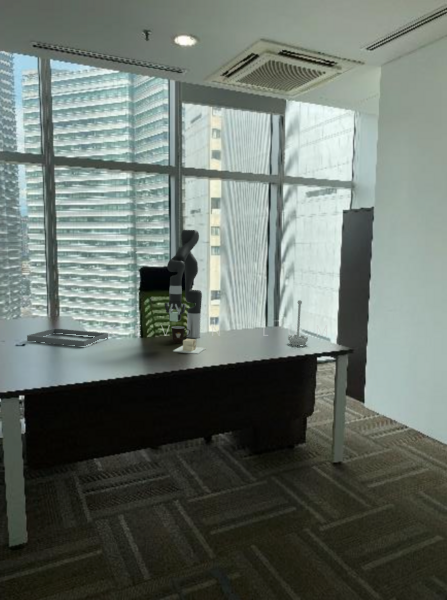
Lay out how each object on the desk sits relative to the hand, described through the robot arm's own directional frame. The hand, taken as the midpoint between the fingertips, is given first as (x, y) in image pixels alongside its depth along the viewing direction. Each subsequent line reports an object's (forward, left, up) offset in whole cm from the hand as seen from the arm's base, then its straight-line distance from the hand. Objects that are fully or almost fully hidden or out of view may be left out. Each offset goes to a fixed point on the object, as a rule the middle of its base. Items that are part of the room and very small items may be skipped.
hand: (175, 319), depth 278 cm
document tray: (+10, -71, -18) cm, 74 cm away
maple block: (+4, +11, -17) cm, 21 cm away
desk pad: (+3, +11, -18) cm, 21 cm away
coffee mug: (-15, -3, -18) cm, 24 cm away
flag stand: (-43, +71, -18) cm, 85 cm away
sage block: (0, 0, 0) cm, 0 cm away
